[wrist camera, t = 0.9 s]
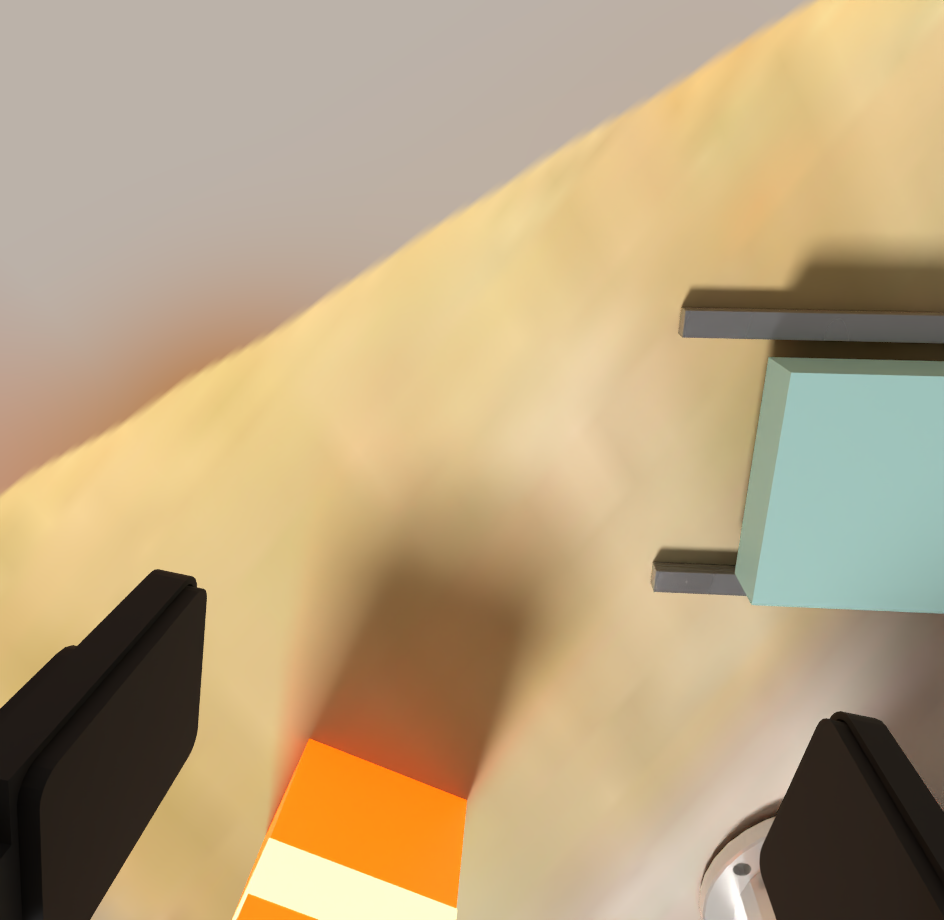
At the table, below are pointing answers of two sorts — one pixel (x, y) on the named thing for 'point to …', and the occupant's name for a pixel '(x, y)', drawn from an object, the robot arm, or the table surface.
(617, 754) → the table surface
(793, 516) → the sage green box
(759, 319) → the track
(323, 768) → the orange juice
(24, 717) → the robot arm
